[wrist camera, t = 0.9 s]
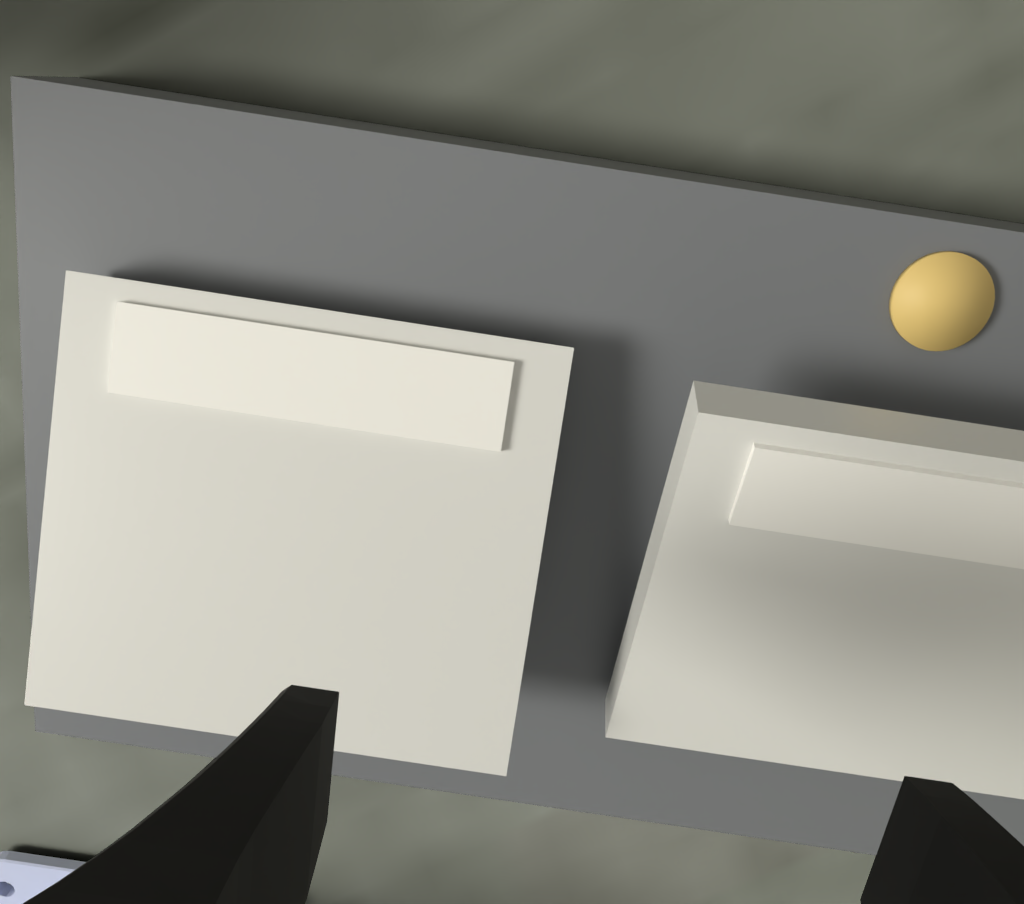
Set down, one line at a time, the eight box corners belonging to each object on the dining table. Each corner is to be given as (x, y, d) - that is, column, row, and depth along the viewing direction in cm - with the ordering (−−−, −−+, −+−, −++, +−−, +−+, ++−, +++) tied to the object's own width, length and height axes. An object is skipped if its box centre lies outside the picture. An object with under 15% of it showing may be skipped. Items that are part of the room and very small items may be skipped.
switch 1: (506, 753, 19) (506, 780, 18) (50, 685, 19) (20, 708, 18) (571, 347, 18) (574, 347, 17) (90, 273, 18) (61, 269, 17)
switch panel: (987, 803, 25) (1046, 902, 22) (85, 669, 24) (18, 750, 21) (1206, 252, 20) (1323, 282, 17) (76, 77, 19) (-12, 75, 16)
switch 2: (1019, 761, 21) (1039, 807, 20) (605, 699, 21) (605, 743, 20) (1222, 460, 16) (1260, 502, 15) (693, 380, 16) (699, 417, 15)
